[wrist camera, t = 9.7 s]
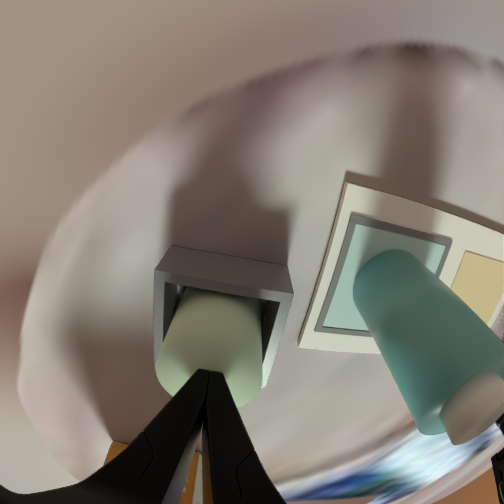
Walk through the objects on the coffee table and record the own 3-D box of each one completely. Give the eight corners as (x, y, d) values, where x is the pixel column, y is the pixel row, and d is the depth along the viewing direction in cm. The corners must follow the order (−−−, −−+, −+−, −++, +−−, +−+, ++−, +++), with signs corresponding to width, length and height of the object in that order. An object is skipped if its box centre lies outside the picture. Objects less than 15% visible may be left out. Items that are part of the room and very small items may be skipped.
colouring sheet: (523, 242, 12) (528, 245, 12) (473, 350, 15) (476, 355, 14) (345, 181, 11) (348, 183, 11) (297, 342, 14) (298, 348, 14)
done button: (268, 280, 13) (273, 347, 9) (252, 344, 14) (252, 416, 10) (184, 265, 12) (154, 327, 8) (179, 332, 14) (156, 399, 10)
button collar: (287, 265, 13) (293, 293, 10) (263, 353, 14) (265, 387, 12) (171, 245, 12) (154, 269, 10) (166, 336, 14) (154, 368, 12)
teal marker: (431, 255, 12) (546, 363, 4) (405, 320, 13) (482, 443, 6) (366, 243, 12) (483, 380, 4) (342, 316, 13) (406, 468, 6)
